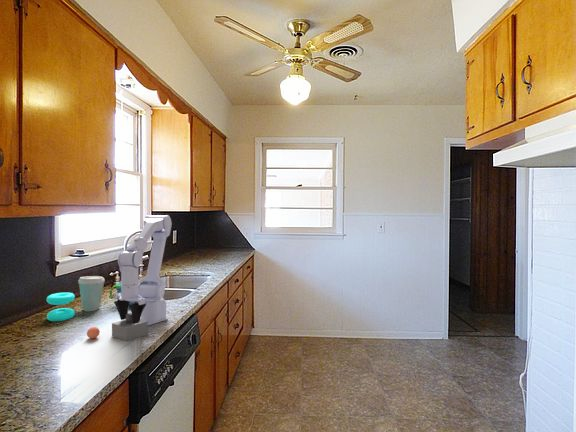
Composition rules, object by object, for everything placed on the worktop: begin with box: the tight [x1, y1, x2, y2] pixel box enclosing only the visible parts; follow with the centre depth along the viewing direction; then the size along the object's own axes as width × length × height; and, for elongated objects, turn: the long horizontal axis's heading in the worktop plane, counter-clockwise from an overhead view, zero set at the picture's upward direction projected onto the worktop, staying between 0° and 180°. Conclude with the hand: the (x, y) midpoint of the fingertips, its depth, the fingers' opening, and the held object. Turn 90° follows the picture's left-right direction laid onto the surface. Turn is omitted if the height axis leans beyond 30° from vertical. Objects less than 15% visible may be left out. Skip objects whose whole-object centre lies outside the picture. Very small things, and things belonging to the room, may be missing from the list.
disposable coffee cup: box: [77, 275, 106, 312], centre depth 161 cm, size 11×11×15 cm
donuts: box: [46, 292, 76, 322], centre depth 148 cm, size 10×10×10 cm
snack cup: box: [109, 281, 139, 305], centre depth 170 cm, size 16×10×10 cm
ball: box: [86, 326, 100, 339], centre depth 127 cm, size 4×4×4 cm
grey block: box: [111, 312, 149, 342], centre depth 130 cm, size 9×9×8 cm
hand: (129, 321), depth 130 cm, fingers open, 7 cm apart
